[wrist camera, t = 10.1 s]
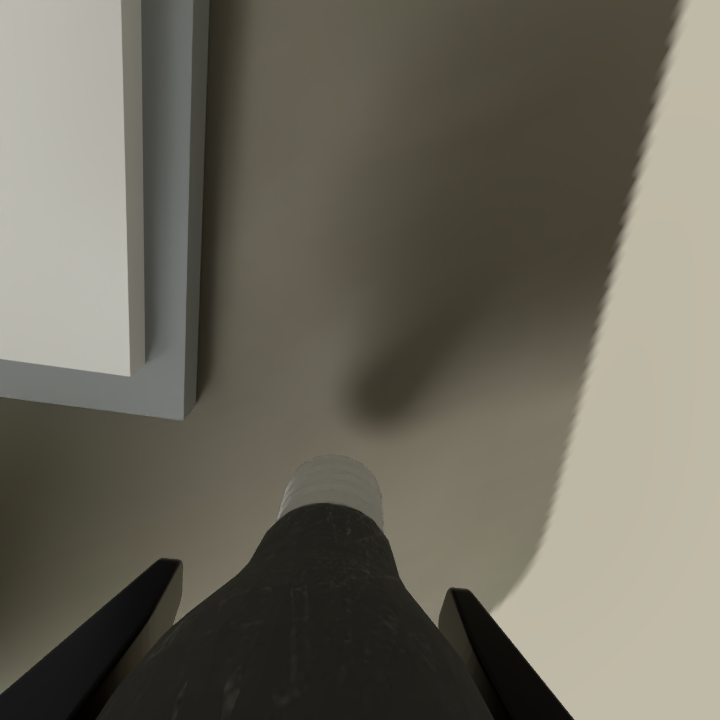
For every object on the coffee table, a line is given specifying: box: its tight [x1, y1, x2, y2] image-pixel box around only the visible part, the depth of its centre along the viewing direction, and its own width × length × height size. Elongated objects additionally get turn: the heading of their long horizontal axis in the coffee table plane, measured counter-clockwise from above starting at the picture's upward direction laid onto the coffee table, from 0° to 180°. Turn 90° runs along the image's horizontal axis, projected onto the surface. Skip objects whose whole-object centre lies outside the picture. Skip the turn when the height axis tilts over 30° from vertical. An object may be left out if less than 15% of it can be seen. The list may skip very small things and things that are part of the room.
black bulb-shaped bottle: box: [96, 455, 494, 720], centre depth 7 cm, size 6×6×10 cm
